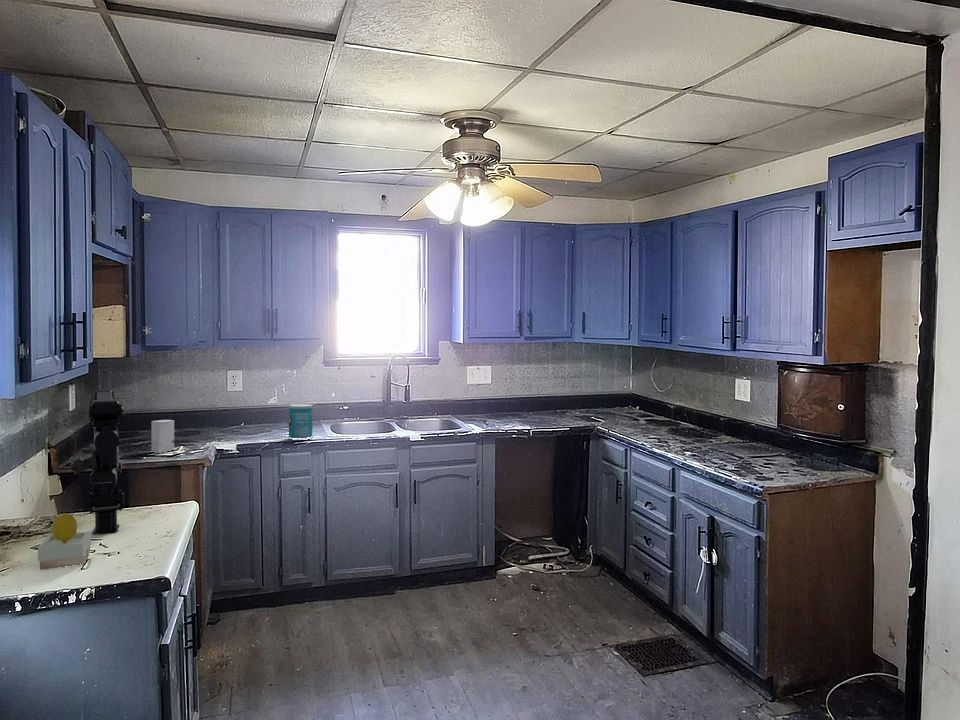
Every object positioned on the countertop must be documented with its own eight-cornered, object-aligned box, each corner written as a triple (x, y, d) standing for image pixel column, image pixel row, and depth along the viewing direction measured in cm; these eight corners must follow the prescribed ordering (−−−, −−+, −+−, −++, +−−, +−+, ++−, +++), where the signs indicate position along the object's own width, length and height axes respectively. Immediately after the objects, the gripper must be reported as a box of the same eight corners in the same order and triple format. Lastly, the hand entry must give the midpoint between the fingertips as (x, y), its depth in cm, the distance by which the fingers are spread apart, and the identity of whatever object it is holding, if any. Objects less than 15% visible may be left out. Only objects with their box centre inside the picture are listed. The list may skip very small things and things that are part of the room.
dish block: (48, 547, 182) (48, 534, 182) (90, 544, 185) (90, 531, 185) (38, 560, 173) (37, 547, 172) (82, 556, 176) (82, 543, 176)
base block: (47, 558, 182) (47, 548, 182) (90, 554, 186) (90, 543, 186) (40, 572, 173) (39, 560, 173) (85, 567, 177) (85, 556, 176)
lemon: (49, 543, 178) (48, 513, 178) (72, 538, 183) (71, 508, 182) (57, 547, 175) (57, 517, 174) (80, 542, 179) (80, 512, 179)
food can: (283, 439, 355) (283, 405, 353) (298, 436, 366) (298, 402, 364) (302, 441, 350) (302, 407, 349) (316, 438, 361) (317, 404, 360)
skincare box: (159, 454, 313) (158, 422, 312) (150, 452, 316) (150, 420, 315) (175, 451, 320) (174, 419, 319) (166, 449, 323) (166, 418, 322)
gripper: (77, 441, 194) (78, 495, 195) (66, 453, 177) (67, 512, 178) (121, 439, 198) (122, 491, 199) (115, 451, 181) (115, 509, 182)
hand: (106, 501), depth 189 cm, fingers open, 9 cm apart
